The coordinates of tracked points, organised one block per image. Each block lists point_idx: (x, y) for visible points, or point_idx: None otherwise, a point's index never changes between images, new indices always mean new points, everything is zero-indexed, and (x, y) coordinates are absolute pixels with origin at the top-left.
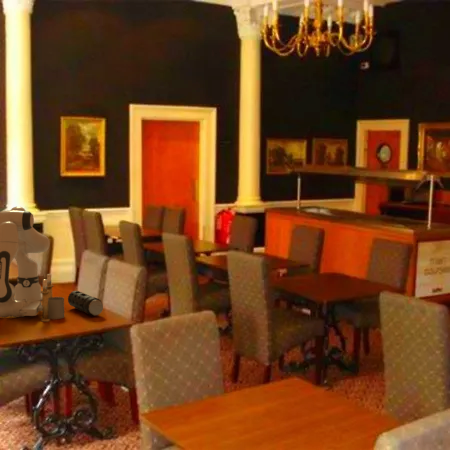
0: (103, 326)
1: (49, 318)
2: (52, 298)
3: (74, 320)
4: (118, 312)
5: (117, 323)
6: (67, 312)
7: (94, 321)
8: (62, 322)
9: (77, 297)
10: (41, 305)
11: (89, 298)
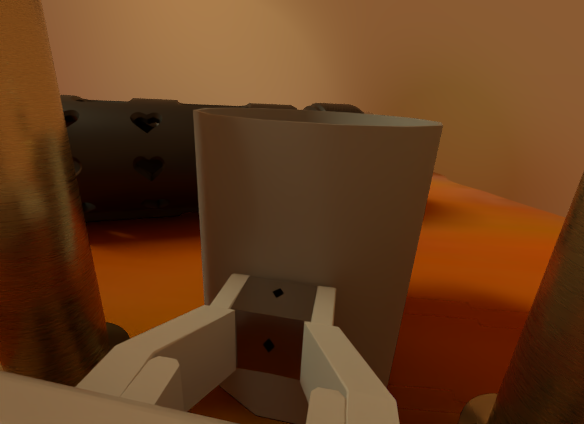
0: (523, 208)
1: (480, 398)
2: (200, 130)
3: (425, 256)
4: None
5: (452, 188)
6: (148, 259)
7: (434, 213)
8: (521, 313)
9: (192, 124)
10: (149, 357)
11: (337, 108)
